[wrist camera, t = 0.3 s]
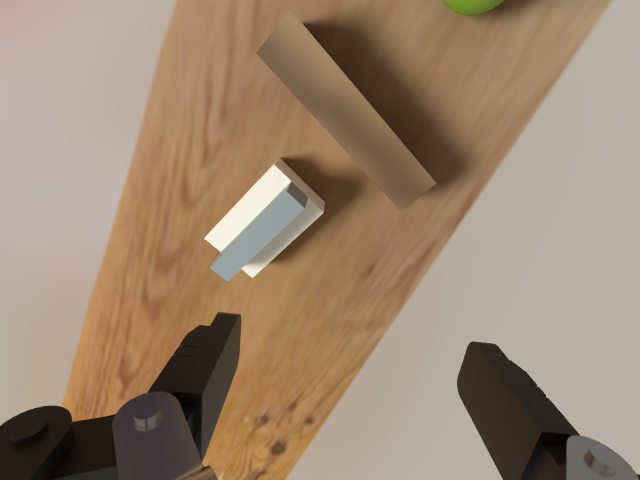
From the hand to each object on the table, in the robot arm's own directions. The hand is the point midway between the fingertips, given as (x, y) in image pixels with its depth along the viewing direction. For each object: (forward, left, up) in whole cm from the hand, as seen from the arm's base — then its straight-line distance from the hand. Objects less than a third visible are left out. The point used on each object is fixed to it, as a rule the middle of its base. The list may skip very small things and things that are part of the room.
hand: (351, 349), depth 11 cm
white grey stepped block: (+7, -3, -21) cm, 23 cm away
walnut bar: (-5, -4, -22) cm, 23 cm away
